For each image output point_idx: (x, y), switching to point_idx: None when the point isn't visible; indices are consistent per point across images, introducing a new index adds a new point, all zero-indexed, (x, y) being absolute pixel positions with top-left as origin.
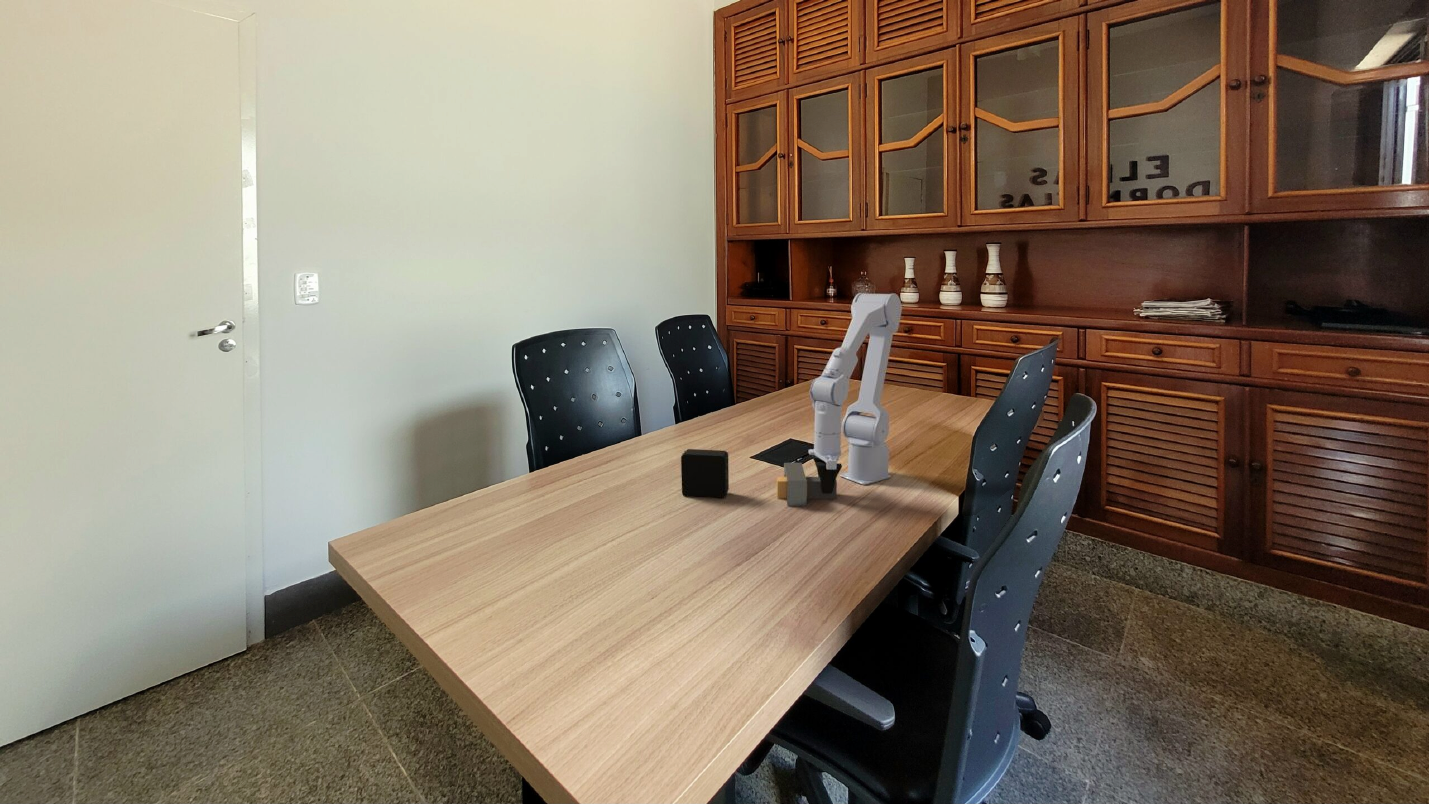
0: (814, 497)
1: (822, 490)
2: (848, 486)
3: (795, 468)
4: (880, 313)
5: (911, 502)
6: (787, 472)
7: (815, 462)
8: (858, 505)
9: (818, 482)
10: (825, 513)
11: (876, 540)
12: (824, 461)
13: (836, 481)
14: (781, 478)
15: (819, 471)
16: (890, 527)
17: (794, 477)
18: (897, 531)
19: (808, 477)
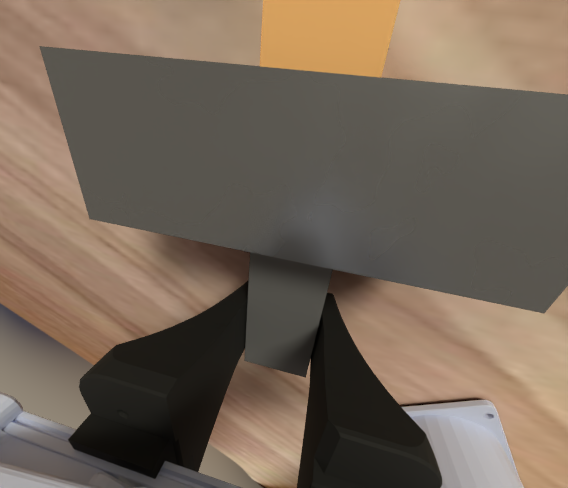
0: None
1: (246, 282)
2: None
3: (382, 209)
4: None
5: (233, 424)
6: (267, 86)
7: (151, 393)
8: None
9: (249, 291)
10: (144, 232)
11: (27, 288)
12: (139, 451)
13: (245, 359)
14: (337, 42)
15: (142, 340)
16: (98, 337)
17: (132, 137)
18: (84, 339)
19: (318, 268)
